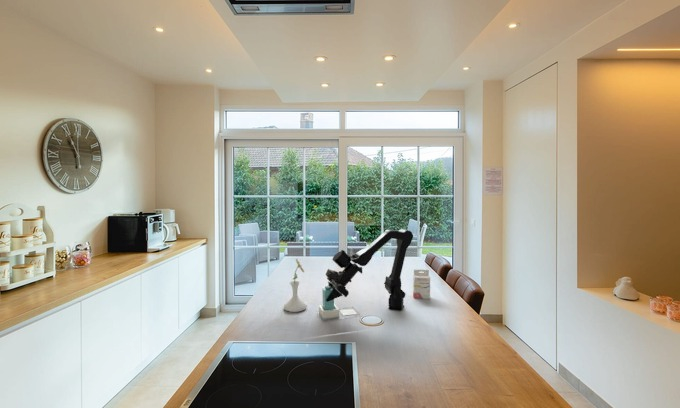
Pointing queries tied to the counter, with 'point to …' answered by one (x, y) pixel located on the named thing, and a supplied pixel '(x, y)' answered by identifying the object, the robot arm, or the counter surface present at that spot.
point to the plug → (326, 293)
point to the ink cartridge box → (421, 284)
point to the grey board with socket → (337, 313)
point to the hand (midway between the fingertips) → (325, 299)
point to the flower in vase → (295, 296)
